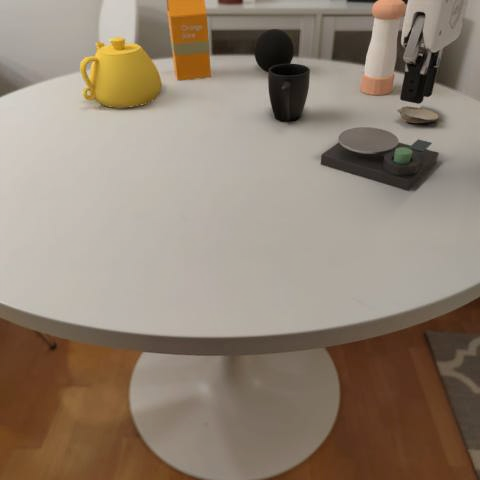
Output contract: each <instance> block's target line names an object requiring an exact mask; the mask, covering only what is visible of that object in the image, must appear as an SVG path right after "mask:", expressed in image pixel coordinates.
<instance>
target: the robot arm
mask: <svg viewBox="0 0 480 480" xmlns="http://www.w3.org/2000/svg"><path fill="white" fill-rule="evenodd" d="M468 2H469V0H407V3H406V12H405V14H404V19H403V23H402V30H401V37H400V44H401V47H403V49H405V50H404V52H403V56H402V57H403V58H402V60H403V61H404V62H405V65H404V75H403V79H402V86H401V91H400V96H399V99H400V101H402V102H407V103H412V104H417V105H420V104H422V103H423V101H424V98H425V97H426V98H429V97H430V96H432V94H433V90H434V86H435V82H436V78H437V73H438V69H439V65H440V63H441V59H442V54H443V50H444V48H446V47H447V46H448V45H450V44H451V43H453V42H454V41H456V40H457V39H458V38H459V37H460V35H461V32H462V28H463V25H464V24H463V23H464V19H465V15H466V10H467V5H468Z"/></svg>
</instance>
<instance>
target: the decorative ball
mask: <svg viewBox="0 0 480 480" xmlns="http://www.w3.org/2000/svg"><path fill="white" fill-rule="evenodd" d="M294 52H295V46H294V43H293V39H292V38H291V37H290V35H289V34H287V32H286V31H283V30H282V29H277V28H273V29H268V30H266V31H264V32H262V33H261V35H260V36H259V37H258V38H257V40H256V42H255V45H254V52H253V53H254V59H255V62H256V64H257V65H258V66H259V68H261V70H263V71H264V72H265V73H268V71H269V68H271V67H272V66H275V65H279V64H292V61H293V58H294Z"/></svg>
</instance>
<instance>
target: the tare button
mask: <svg viewBox="0 0 480 480" xmlns="http://www.w3.org/2000/svg"><path fill="white" fill-rule="evenodd" d="M411 156H412V150H411V149H409V148H405V147H400V148H397V149H396V150H395V155H394V161H395V162H397V163H402V164H406V163H410V161H411Z"/></svg>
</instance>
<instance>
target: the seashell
mask: <svg viewBox="0 0 480 480" xmlns="http://www.w3.org/2000/svg"><path fill="white" fill-rule="evenodd" d="M396 111H397V113H399V114H400V117H401V119H402V120H403V121H405V122H407V123H410V124H425V123H430V122H431V123H432V122H434V121H437V120H439V119H440V116H439V114H438V113H437V112H435V111H432V110H429V109H425V108H422V107H416V106H402V107H400V108H399V109H397V110H396Z"/></svg>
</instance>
